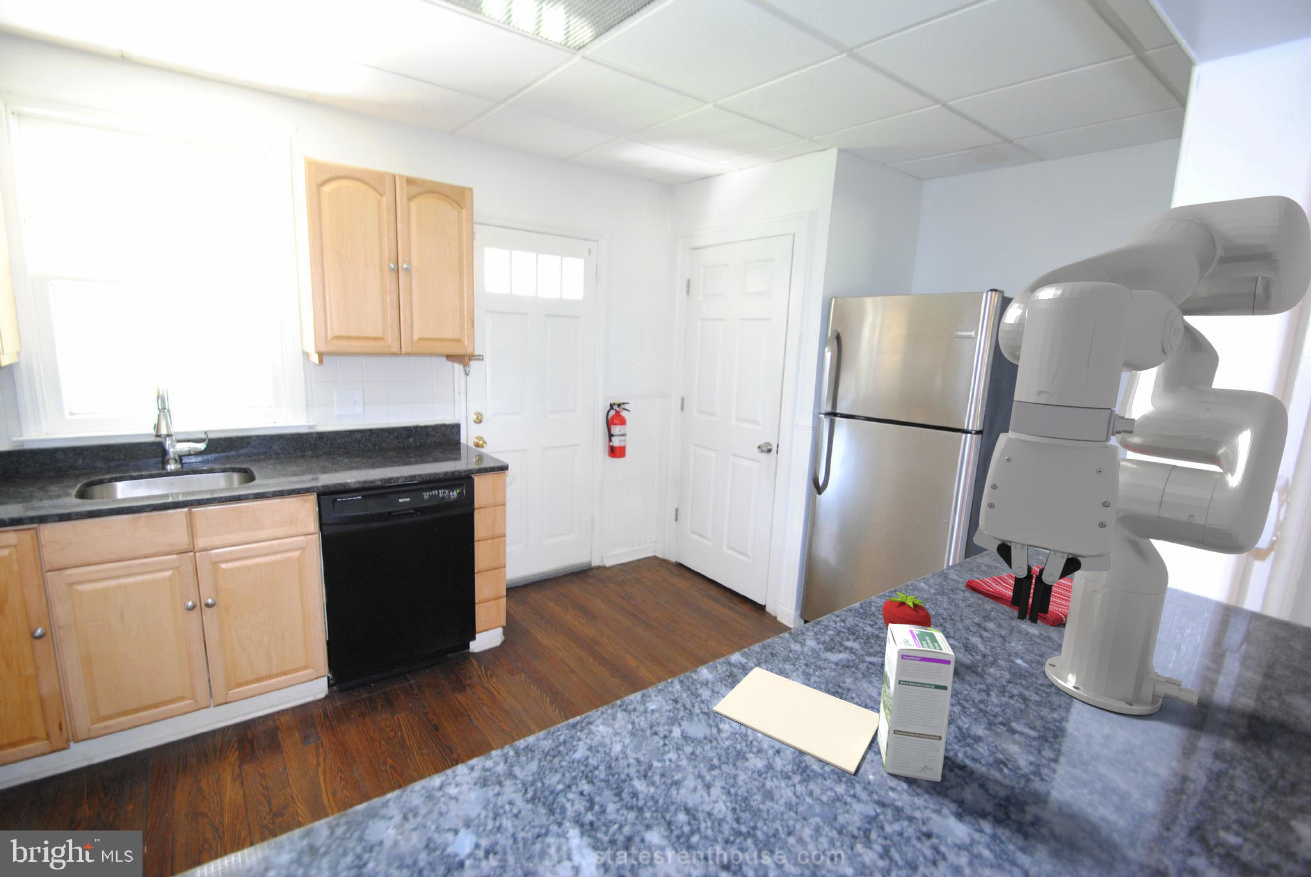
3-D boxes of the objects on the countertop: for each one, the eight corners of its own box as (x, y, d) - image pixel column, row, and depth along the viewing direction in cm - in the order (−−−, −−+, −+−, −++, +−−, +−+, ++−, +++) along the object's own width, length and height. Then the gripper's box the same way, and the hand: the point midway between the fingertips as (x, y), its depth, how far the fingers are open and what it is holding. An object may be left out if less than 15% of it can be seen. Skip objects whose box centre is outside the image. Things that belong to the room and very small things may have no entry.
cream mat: (883, 717, 71) (883, 715, 70) (853, 774, 61) (853, 772, 61) (755, 668, 80) (756, 666, 80) (712, 711, 70) (712, 708, 70)
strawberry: (907, 666, 82) (915, 600, 81) (868, 640, 89) (875, 579, 88) (937, 658, 85) (945, 594, 83) (897, 634, 92) (904, 574, 90)
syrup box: (942, 784, 60) (960, 654, 58) (882, 773, 61) (897, 646, 59) (928, 747, 66) (944, 628, 63) (873, 738, 67) (887, 620, 64)
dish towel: (960, 590, 111) (961, 577, 111) (1036, 574, 121) (1038, 561, 121) (1052, 631, 96) (1054, 616, 96) (1130, 608, 106) (1133, 595, 106)
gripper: (1162, 432, 51) (1125, 627, 54) (971, 413, 59) (947, 583, 62) (1175, 440, 45) (1132, 660, 48) (960, 418, 53) (934, 606, 56)
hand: (1027, 616), depth 55 cm, fingers closed
